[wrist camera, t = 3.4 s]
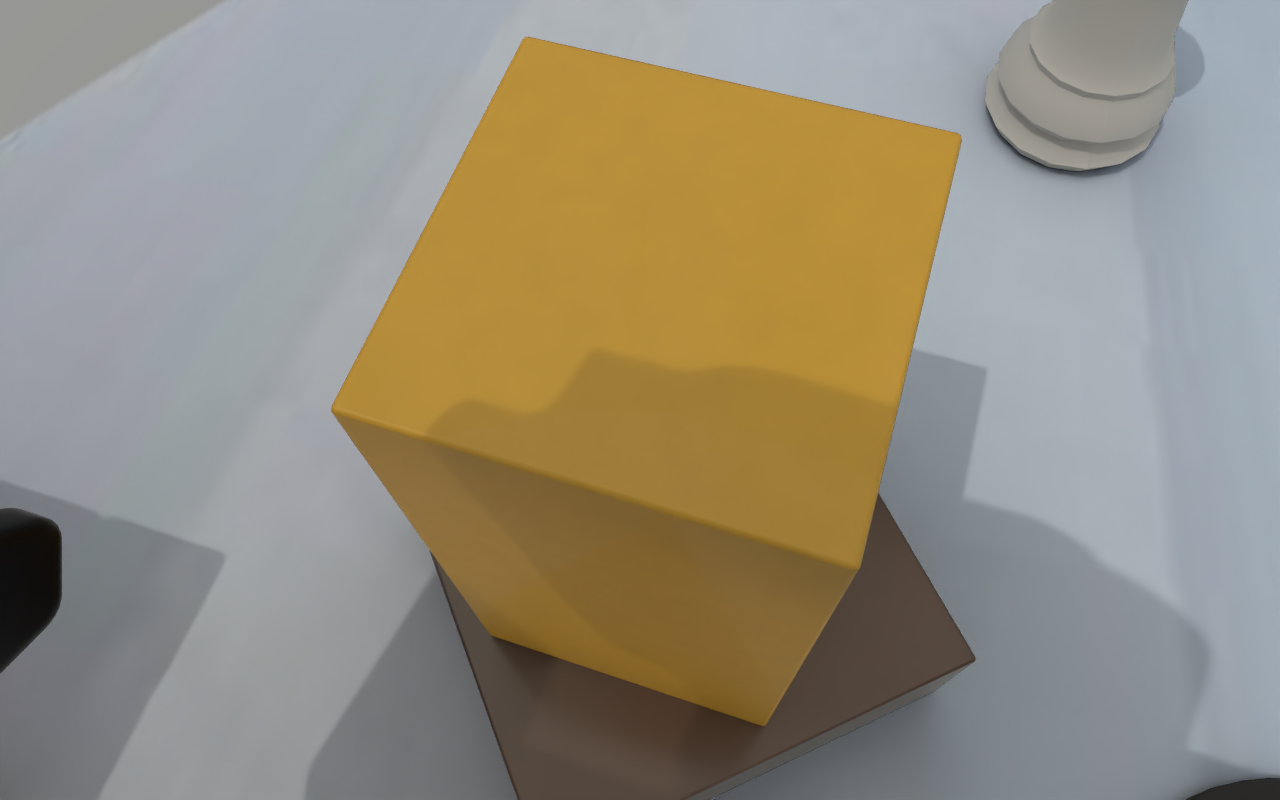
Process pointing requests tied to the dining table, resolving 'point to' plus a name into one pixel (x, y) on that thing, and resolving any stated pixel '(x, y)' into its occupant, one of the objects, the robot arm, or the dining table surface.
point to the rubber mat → (1243, 791)
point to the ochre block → (655, 366)
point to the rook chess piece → (1086, 81)
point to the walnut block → (699, 736)
